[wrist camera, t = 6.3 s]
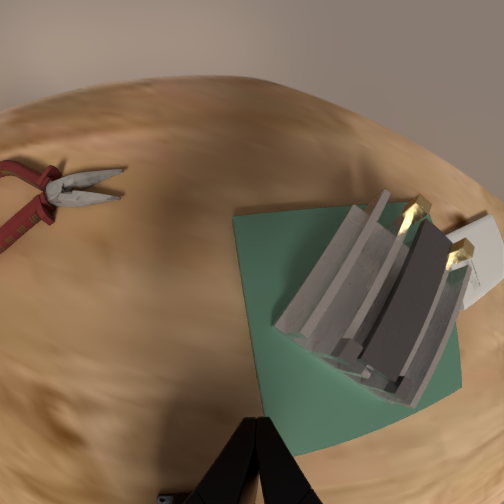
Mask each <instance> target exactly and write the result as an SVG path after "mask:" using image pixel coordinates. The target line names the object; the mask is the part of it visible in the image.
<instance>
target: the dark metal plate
mask: <svg viewBox="0 0 504 504" xmlns="http://www.w3.org/2000/svg"><path fill="white" fill-rule="evenodd" d="M452 245H453V243H452V242H451V241H450V240H449V239H448V238H447V237H446V236H445V235H444V234H443V233H442V232H441V231H440V230H439V229H438V228H437V227H436V226H435V225H434V224H433V223H431V222H430V221H429V220H428V219H427V218H426V219H424V220H423V221H421V222H420V224H419V227H418V229H417V232H416V235H415V237H414V240H413V242H412V244H411V247H410V249H409V252H408V254H407V256H406V259H405V261H404V263H403V266H402V268H401V270H400V272H399V274H398V277H397V279H396V281H395V283H394V285H393V287H392V289H391V291H390V294H389V296H388V298H387V300H386V302H385V304H384V306H383V308H382V309H381V311H380V313H379V315H378V317H377V319H376V321H375V323H374V325H373V326H372V328H371V330H370V332H369V334H368V336H367V337H366V339H365V341H364V343H363V344H362V347H363V349H362V351H361V353H360V354H359V356H358V358H357V359H356V360H357V361H359V362H360V363H362V364H363V365H365V366H366V367H368V368H369V369H371V370H372V371H373V372H375V373H376V374H378V375H379V376H381V377H382V378H384V379H385V380H387V381H389V382H396V380H397V378H398V376H399V375H400V373H401V371H402V369H403V367H404V365H405V363H406V361H407V359H408V357H409V355H410V353H411V351H412V349H413V347H414V345H415V343H416V341H417V339H418V336H419V334H420V332H421V330H422V328H423V325H424V323H425V321H426V318H427V316H428V313H429V311H430V309H431V306H432V304H433V301H434V298H435V296H436V293H437V291H438V288H439V285H440V282H441V279H442V277H443V274H444V271H445V268H446V265H447V261H448V258H449V255H450V252H451V248H452Z"/></svg>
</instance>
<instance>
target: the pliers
mask: <svg viewBox="0 0 504 504" xmlns="http://www.w3.org/2000/svg"><path fill="white" fill-rule="evenodd" d="M122 172H124V171H123V169H114V170H102V171H91V172H82V173H76V174H72V175H68V176H65V177H63V178H61V176H62V174H61V173H60V172H59V170H58V169H57V168H56V167H54V166H52V165H49V166H48V167H47V168H46V169H45V171H44V172H43V174H41V173H39V172H37V171H35V170H33V169H31V168H29V167H27V166H25V165H23V164H21V163H19V162H16V161H11V160H5V161H2V162H0V178H1V177H4V176H10V175H11V176H16V177H18V178H20V179H22V180H23V181H25V182H27V183H29V184H31V185H32V186H34V187H36V188H38V189H40V190H41V191H43V192H42V193H41V194H39V195H37V196H35V197H34V198H33V200H32V201H31V202H29V203H28V204H27V205H26V206H25V207H23V208H22V209H21V210H20V211H19V212H18V213H16V214H15V215H14V216H13V217H12V218H11V219H10V220H8V221H7V222H6V223H5V224H4V225H3V226H2V227H1V228H0V254H1V253H2V252H4V251H5V250H6V249H7V248H8V247H10V246H11V245H12V244H13V243H14V242H15V241H16V240H17V239H19V238H20V237H21V236H22V235H23V234H24V233H26V232H27V231H28V230H29V229H30V228H32V227H33V226H34V225H35V224H36V223H38V222H39V221H40V220H41V219H42V220H43V221H44V222H45V223H47V224H48V225H49V226H50V225H51V224H53V223H54V219H53V216H52V212H53V211H54V210H55V207H54V205H55V206H62V207H82V206H87V205H92V204H97V203H103V202H108V201H114V200H120V199H121V198H120V197H119V196H112V195H106V194H99V193H92V192H85V191H72V192H70V191H71V189H72V188H73V187H74V186H78V187H79V188H80V189H84V188H86V187H89V186H92V185H94V184H96V183H99V182H101V181H103V180H105V179H108V178H110V177H112V176H115V175H117V174H119V173H122ZM44 192H45V193H44Z"/></svg>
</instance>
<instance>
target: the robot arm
mask: <svg viewBox="0 0 504 504" xmlns="http://www.w3.org/2000/svg"><path fill="white" fill-rule="evenodd" d="M259 474H260V481H261V487H262V493H263V498H264V504H323V503H322V502H321V500H320V499H319V498H318V496H317V495H316V493H315V492H314V490H313V489H311V485H310V484H309V482H308V481H307V479H306V477H305V476H304V474H303V473H302V471H301V469H300V468H299V466H298V464H297V463H296V461H295V459H294V458H293V456H292V454H291V453H290V451H289V449H288V448H287V446H286V444H285V442H284V441H283V439H282V437H281V436H280V434H279V432H278V430H277V429H276V427H275V425H274V423H273V421H272V420H271V418H270V417H268V416H266V417H258V418H256V417H245V418H243V419H242V421H241V422H240V424H239V426H238V427H237V429H236V430H235V432H234V433H233V435H232V436H231V438H230V439H229V441H228V442H227V444H226V445H225V447H224V448H223V450H222V451H221V453H220V454H219V456H218V457H217V459H216V460H215V461H214V463H213V464H212V466H211V467H210V469H209V470H208V471H207V473H206V474H205V476H204V477H203V478H202V480H201V481H200V483H199V484H198V485H197V487H196V488H195V490H193V492H189V493H177V494H159V495H158V496H157V502H158V504H255V500H256V493H257V486H258V479H259ZM161 498H163V499H165V500H162V499H161Z"/></svg>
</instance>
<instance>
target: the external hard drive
mask: <svg viewBox="0 0 504 504" xmlns="http://www.w3.org/2000/svg"><path fill="white" fill-rule="evenodd" d="M445 236H446V237H447V238H448V239H449V240H450V241H451V242H452V243H455V242H457V241H459V240H461V239H463V238H465V237H466V238H467V239H468V240H469V241H470V242H471V243H472V244H473V245H474V247H475V249H474V253H473V257H472V258H470V259H467V260H465V261H462V262H460V263H458V264H455V263H454V262H453V261H452V264H451V268H450V271H453V270H455V269H458V268H461V267H463V266H466V265H469V266H470V267H471V268H472V272H471V275H470V279H469V282H468V286H467V289H466V292H465V295H464V299H463V302H462V305H461V308H460V310H459V311H463V310H465V309H466V308H468V307H469V306H470V305H472V304H473V303H474V302H476V301H477V300H478V299H479V298H481V297H482V296H483V295H485V294H486V293H487V292H488V291H489V290H491V289H492V288H493V287H494V286H495V285H496V284H498V283H499V282H500V281H501V280H502V279H503V278H504V243H503V240H502V238H501V235H500V232H499V230H498V227H497V225H496V222H495V220H494V218H493V216H492V214H488V215H486V216H484V217H482V218H480V219H478V220H476V221H474V222H472V223H470V224H468V225H466V226H464V227H462V228H460V229H457V230H455V231H453V232H451V233H449V234H447V235H445ZM450 271H449V272H450Z"/></svg>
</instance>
